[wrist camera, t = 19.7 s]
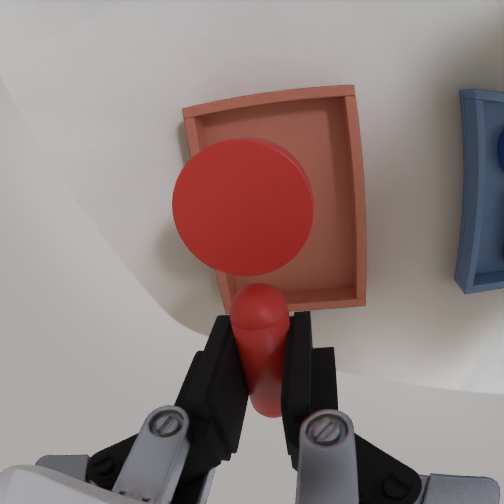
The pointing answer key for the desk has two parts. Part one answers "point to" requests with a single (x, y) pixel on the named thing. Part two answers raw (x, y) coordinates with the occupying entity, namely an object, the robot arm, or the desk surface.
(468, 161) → the blue-grey tray
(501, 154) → the blue spoon
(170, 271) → the desk surface
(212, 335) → the robot arm
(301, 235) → the red disc and rod
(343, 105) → the terracotta tray
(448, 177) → the desk surface
